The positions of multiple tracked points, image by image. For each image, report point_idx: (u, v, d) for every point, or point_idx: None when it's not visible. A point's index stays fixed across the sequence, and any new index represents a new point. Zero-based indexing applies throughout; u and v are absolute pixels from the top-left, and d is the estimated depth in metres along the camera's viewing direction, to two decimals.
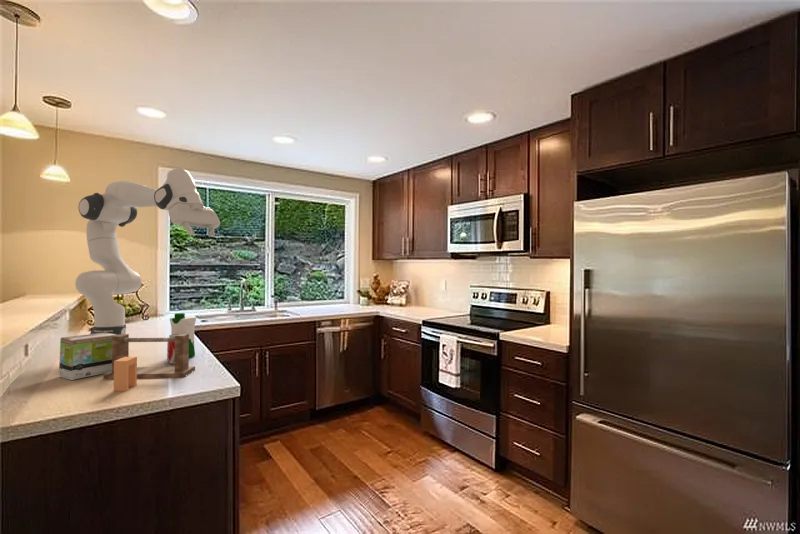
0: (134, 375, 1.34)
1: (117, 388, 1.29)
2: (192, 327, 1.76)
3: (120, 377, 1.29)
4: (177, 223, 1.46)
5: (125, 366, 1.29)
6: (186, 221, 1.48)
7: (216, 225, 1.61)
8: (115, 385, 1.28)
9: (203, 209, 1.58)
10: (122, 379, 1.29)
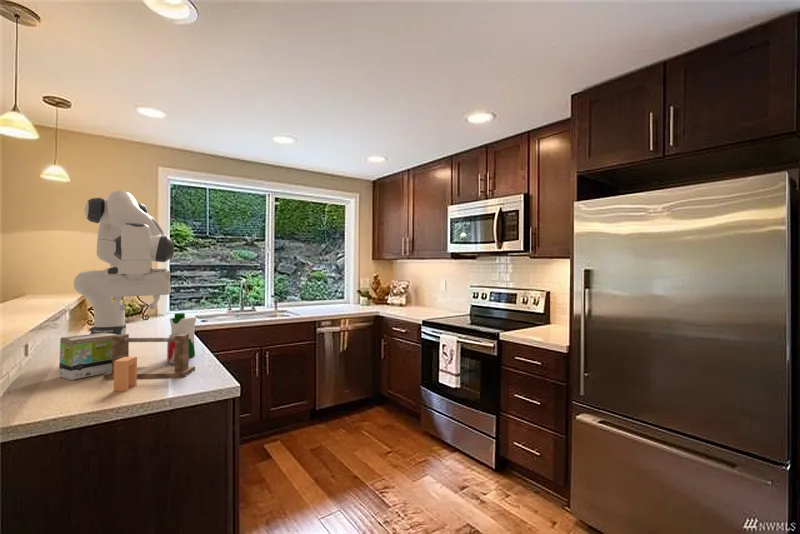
0: (134, 375, 1.34)
1: (117, 388, 1.29)
2: (192, 327, 1.76)
3: (120, 377, 1.29)
4: None
5: (125, 366, 1.29)
6: (114, 296, 1.30)
7: (162, 294, 1.34)
8: (115, 385, 1.28)
9: (146, 276, 1.33)
10: (122, 379, 1.29)
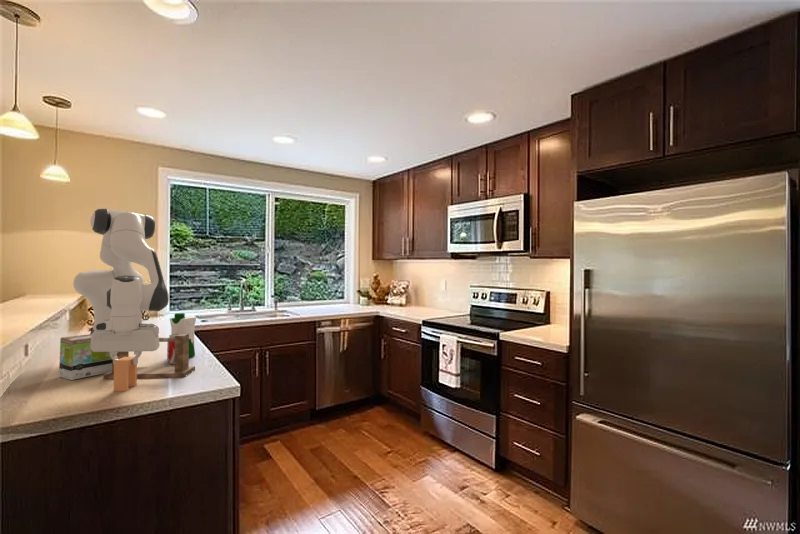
0: (134, 375, 1.34)
1: (117, 388, 1.29)
2: (192, 327, 1.76)
3: (120, 377, 1.29)
4: None
5: (125, 366, 1.29)
6: (103, 351, 1.29)
7: (149, 350, 1.32)
8: (115, 385, 1.28)
9: (134, 332, 1.30)
10: (122, 379, 1.29)
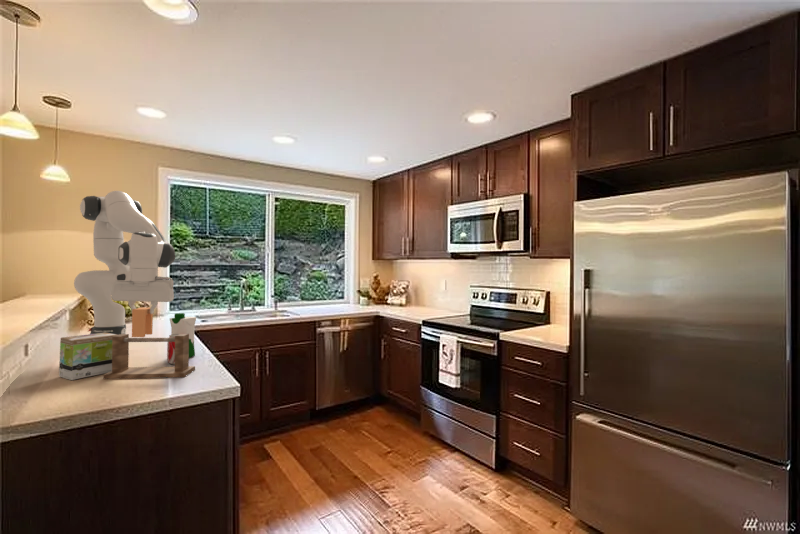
0: (150, 324, 1.45)
1: (135, 335, 1.40)
2: (192, 327, 1.76)
3: (138, 324, 1.40)
4: None
5: (142, 314, 1.40)
6: None
7: (164, 301, 1.43)
8: (133, 331, 1.40)
9: (151, 283, 1.41)
10: (139, 326, 1.40)
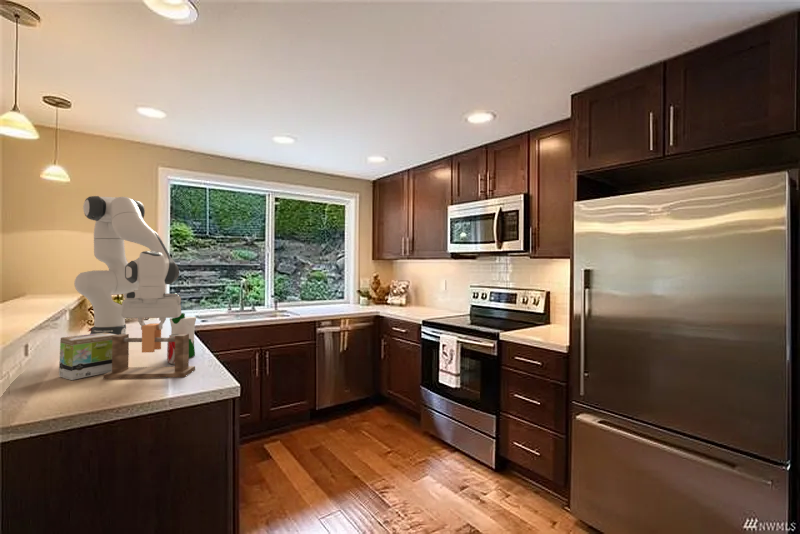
0: None
1: (145, 350, 1.45)
2: (192, 327, 1.76)
3: (147, 339, 1.45)
4: None
5: (152, 330, 1.46)
6: None
7: (172, 317, 1.48)
8: (143, 347, 1.45)
9: (159, 300, 1.47)
10: (149, 342, 1.45)
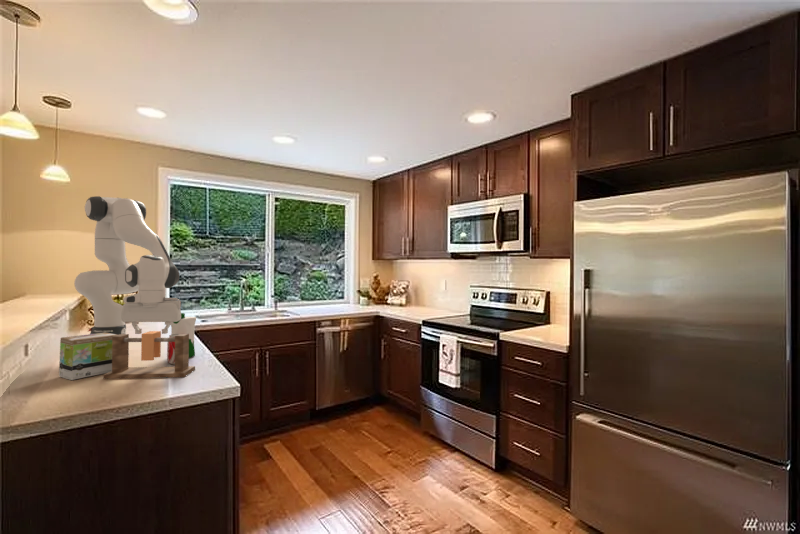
0: (158, 347, 1.51)
1: (145, 358, 1.45)
2: (192, 327, 1.76)
3: (147, 348, 1.45)
4: None
5: (151, 338, 1.46)
6: (132, 322, 1.46)
7: (172, 321, 1.48)
8: (142, 355, 1.45)
9: (159, 304, 1.47)
10: (149, 350, 1.46)
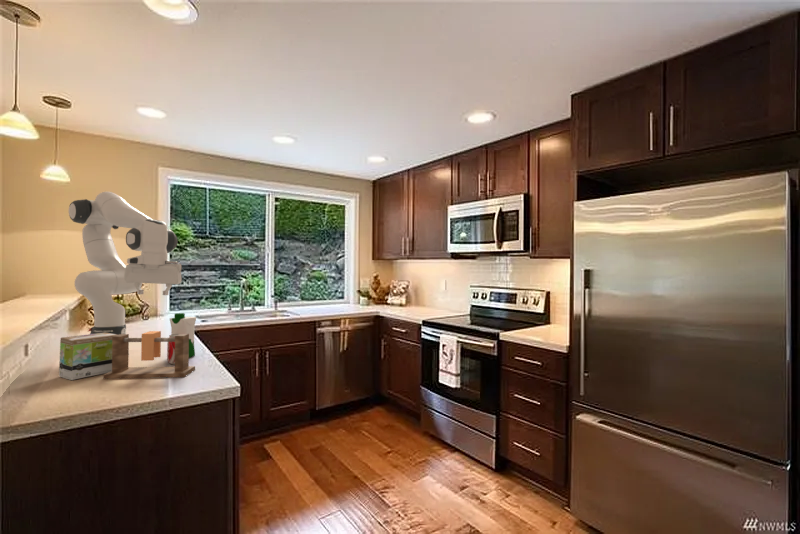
0: (158, 347, 1.51)
1: (145, 358, 1.45)
2: (192, 327, 1.76)
3: (147, 348, 1.45)
4: None
5: (151, 338, 1.46)
6: (134, 282, 1.53)
7: None
8: (142, 355, 1.45)
9: (161, 267, 1.53)
10: (149, 350, 1.46)
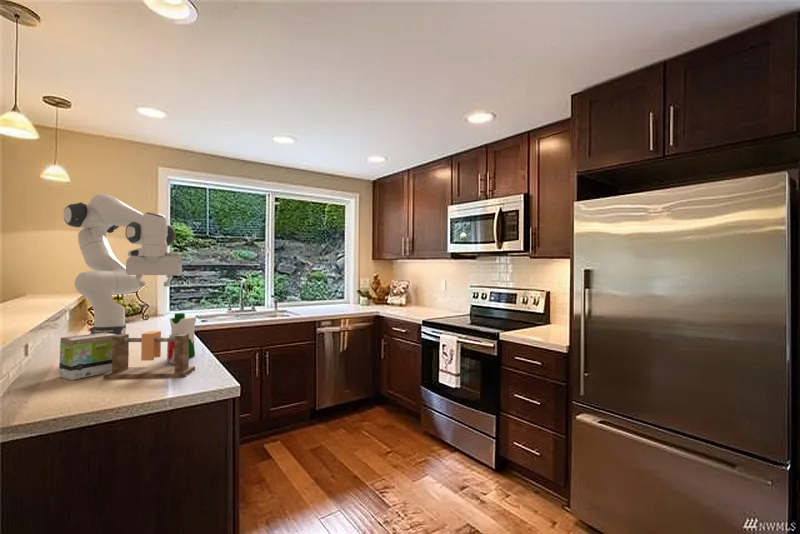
0: (158, 347, 1.51)
1: (145, 358, 1.45)
2: (192, 327, 1.76)
3: (147, 348, 1.45)
4: None
5: (151, 338, 1.46)
6: (135, 274, 1.56)
7: None
8: (142, 355, 1.45)
9: (162, 258, 1.56)
10: (149, 350, 1.46)
